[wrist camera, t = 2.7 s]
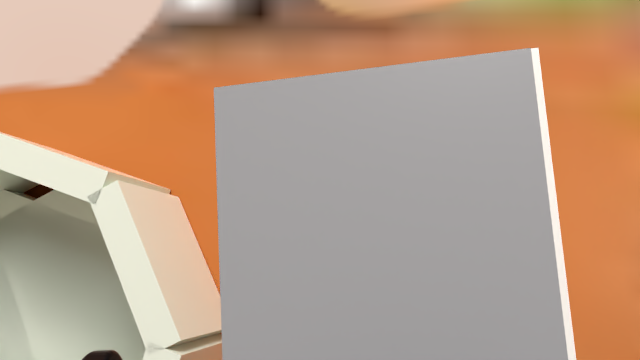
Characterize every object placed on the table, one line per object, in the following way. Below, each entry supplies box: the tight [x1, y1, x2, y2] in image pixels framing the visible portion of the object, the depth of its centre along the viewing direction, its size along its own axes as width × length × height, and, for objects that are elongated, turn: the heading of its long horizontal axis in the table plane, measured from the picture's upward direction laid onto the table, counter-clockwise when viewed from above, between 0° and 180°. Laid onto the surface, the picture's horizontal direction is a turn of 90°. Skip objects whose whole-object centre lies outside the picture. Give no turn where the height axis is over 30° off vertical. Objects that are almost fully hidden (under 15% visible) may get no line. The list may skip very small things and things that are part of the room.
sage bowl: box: [0, 132, 222, 360], centre depth 19 cm, size 13×13×4 cm
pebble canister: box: [214, 48, 576, 360], centre depth 14 cm, size 5×5×11 cm
